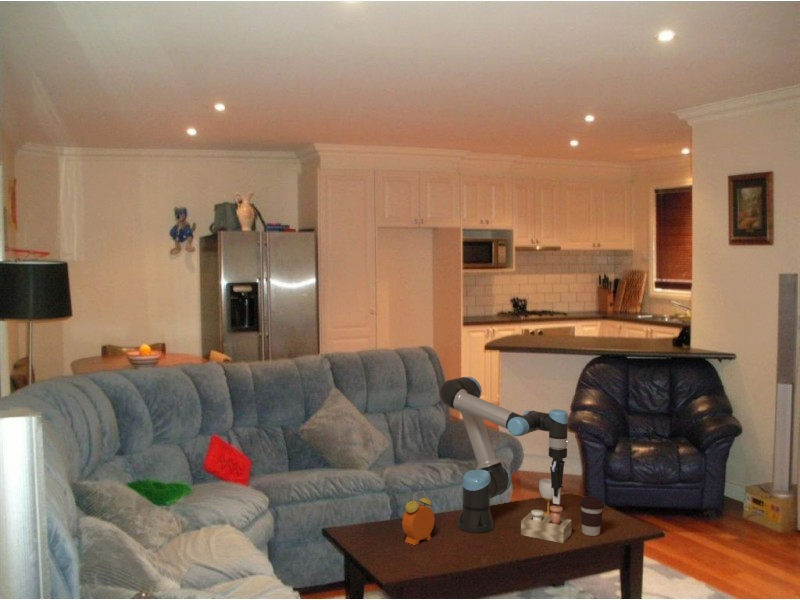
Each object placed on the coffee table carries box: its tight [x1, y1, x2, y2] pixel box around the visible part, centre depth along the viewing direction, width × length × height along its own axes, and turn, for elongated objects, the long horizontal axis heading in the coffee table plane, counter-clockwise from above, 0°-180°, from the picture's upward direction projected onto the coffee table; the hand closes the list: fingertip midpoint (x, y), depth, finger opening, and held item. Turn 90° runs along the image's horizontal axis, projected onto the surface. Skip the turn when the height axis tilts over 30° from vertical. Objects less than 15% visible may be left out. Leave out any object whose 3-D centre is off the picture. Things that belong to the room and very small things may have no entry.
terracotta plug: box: [549, 504, 564, 525], centre depth 310 cm, size 5×5×8 cm
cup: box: [538, 477, 553, 516], centre depth 334 cm, size 9×9×16 cm
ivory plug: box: [531, 509, 545, 521], centre depth 314 cm, size 5×5×8 cm
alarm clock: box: [401, 490, 436, 546], centre depth 302 cm, size 13×6×20 cm, turn 134°
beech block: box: [520, 512, 573, 544], centre depth 312 cm, size 18×12×6 cm, turn 61°
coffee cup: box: [579, 495, 605, 537], centre depth 314 cm, size 10×10×15 cm
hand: (556, 503), depth 310 cm, fingers closed
